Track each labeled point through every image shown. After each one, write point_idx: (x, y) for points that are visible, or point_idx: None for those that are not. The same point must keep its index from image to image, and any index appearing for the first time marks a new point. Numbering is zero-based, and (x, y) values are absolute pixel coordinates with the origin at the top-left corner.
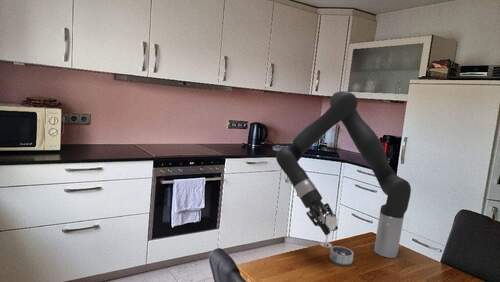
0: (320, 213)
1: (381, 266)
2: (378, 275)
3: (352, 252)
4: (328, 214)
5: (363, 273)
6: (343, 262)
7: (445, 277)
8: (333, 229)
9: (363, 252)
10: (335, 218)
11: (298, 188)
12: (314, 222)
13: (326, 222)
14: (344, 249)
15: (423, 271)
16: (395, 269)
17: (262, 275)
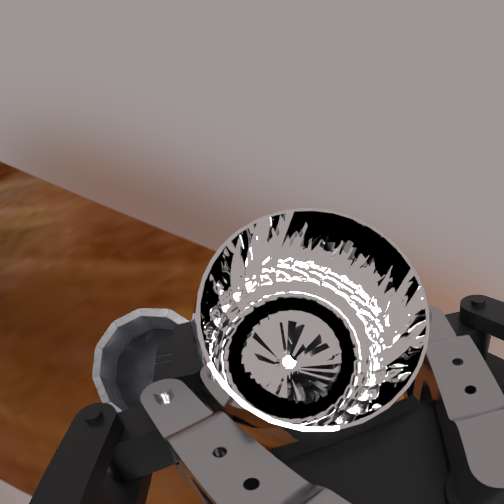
0: (485, 366)
1: (64, 264)
2: (135, 231)
3: (111, 329)
4: (238, 414)
5: (171, 262)
6: None
7: (15, 168)
8: (288, 288)
9: (15, 363)
10: (287, 220)
11: None
12: (494, 360)
13: (390, 298)
14: (105, 383)
15: (14, 198)
16: (51, 233)
17: None
